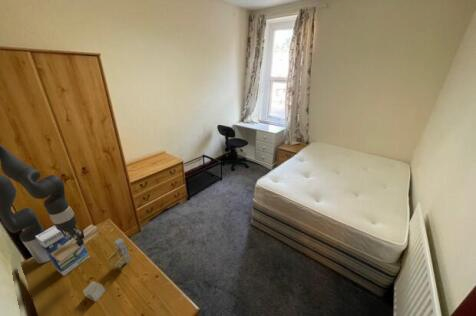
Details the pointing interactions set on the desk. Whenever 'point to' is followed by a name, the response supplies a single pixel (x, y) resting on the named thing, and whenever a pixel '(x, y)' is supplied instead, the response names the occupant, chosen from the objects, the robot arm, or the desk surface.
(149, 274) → the desk surface
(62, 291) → the desk surface
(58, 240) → the string lights box
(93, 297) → the bracket stand
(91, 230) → the pine rail
